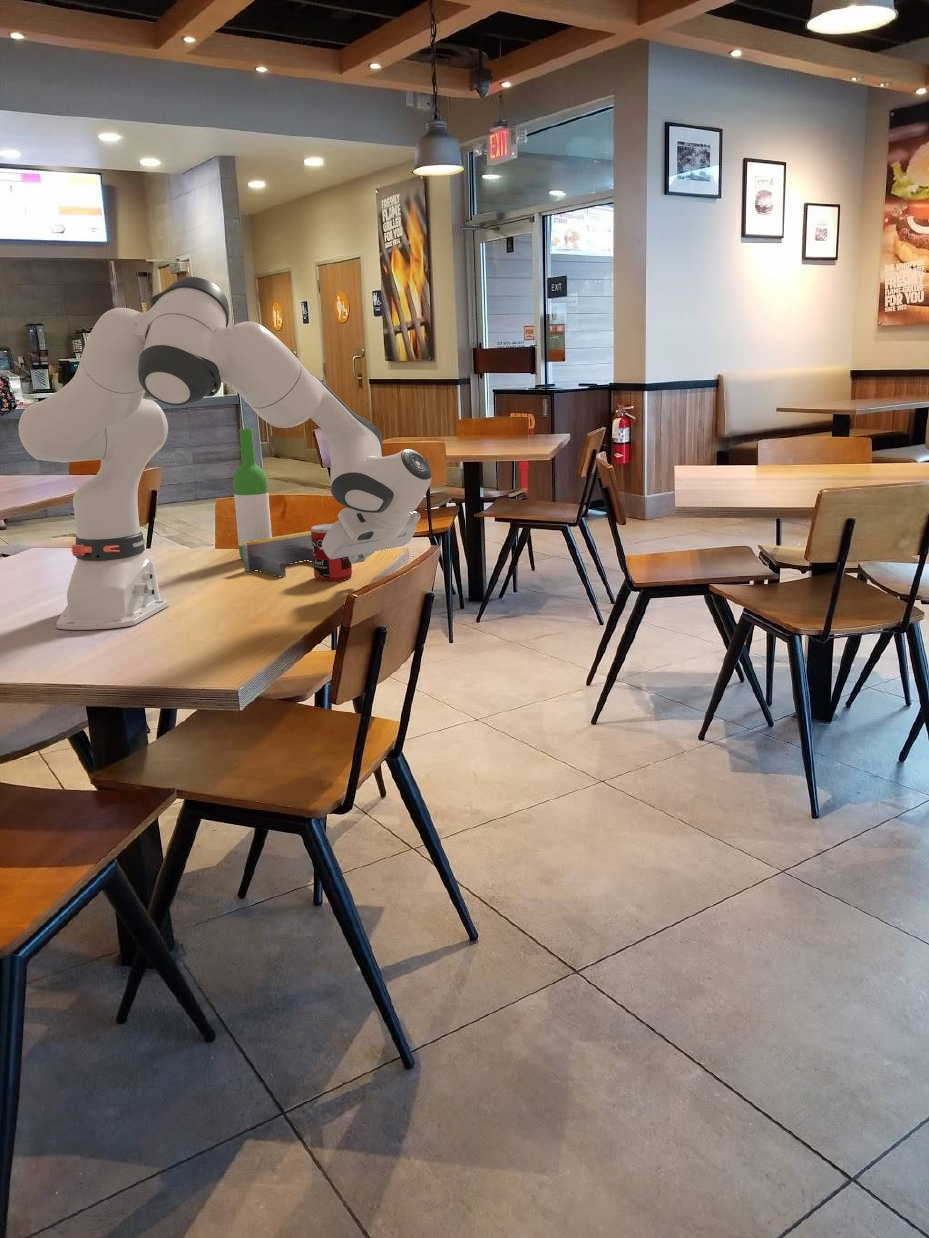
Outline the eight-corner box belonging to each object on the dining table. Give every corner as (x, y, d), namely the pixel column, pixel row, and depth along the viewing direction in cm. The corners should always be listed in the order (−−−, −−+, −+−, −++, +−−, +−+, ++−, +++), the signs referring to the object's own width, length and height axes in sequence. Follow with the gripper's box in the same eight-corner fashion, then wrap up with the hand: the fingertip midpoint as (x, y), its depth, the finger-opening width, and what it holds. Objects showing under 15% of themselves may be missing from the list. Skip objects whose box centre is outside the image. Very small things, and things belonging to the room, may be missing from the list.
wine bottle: (257, 554, 230) (246, 427, 222) (280, 557, 225) (270, 428, 217) (232, 560, 223) (220, 430, 216) (256, 563, 219) (244, 430, 211)
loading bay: (343, 565, 214) (341, 536, 213) (273, 578, 203) (271, 548, 201) (312, 558, 223) (310, 530, 221) (244, 571, 211) (242, 542, 209)
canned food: (310, 576, 204) (306, 525, 201) (345, 572, 207) (342, 522, 204) (320, 583, 197) (316, 531, 194) (357, 579, 200) (354, 527, 197)
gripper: (416, 499, 193) (388, 541, 202) (332, 511, 180) (307, 555, 189) (431, 523, 191) (402, 564, 200) (348, 537, 178) (321, 581, 187)
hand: (355, 560), depth 195 cm, fingers closed
